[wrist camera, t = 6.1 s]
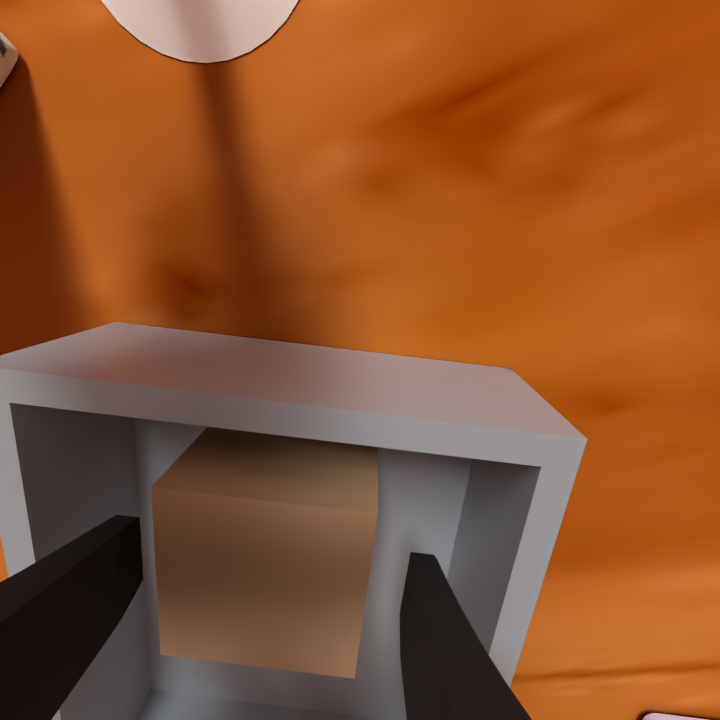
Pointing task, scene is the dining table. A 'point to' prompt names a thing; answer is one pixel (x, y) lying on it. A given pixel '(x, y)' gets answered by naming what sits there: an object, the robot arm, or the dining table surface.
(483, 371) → the tote
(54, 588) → the robot arm
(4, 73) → the box
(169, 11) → the champagne flute
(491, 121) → the dining table surface
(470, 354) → the dining table surface
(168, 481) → the walnut cube
